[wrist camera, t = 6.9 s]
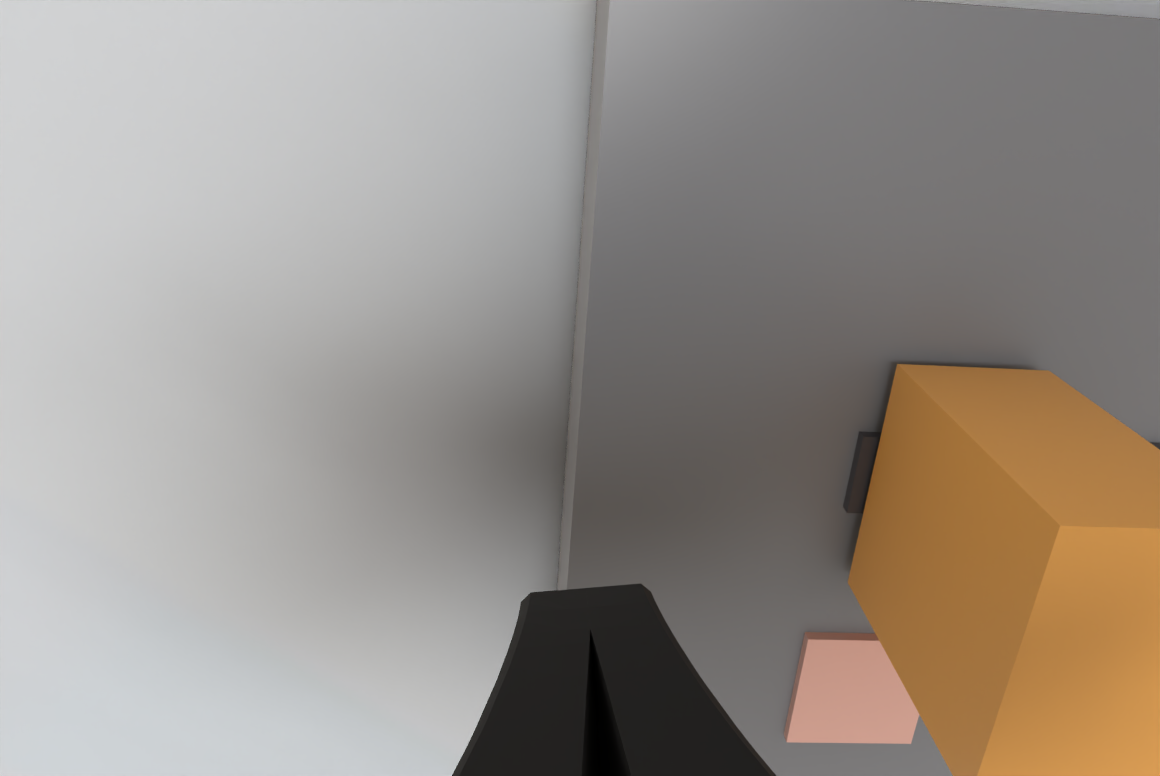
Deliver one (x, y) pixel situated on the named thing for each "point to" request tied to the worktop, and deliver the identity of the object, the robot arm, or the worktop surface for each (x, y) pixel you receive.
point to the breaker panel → (833, 308)
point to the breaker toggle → (1016, 572)
